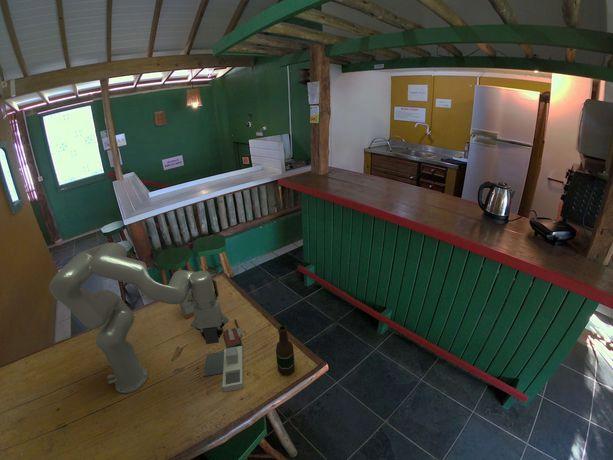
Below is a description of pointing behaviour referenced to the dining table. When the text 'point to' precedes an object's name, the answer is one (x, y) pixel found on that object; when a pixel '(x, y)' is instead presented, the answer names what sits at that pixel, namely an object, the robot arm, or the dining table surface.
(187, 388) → the dining table surface
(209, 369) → the mat
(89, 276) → the robot arm
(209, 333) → the block
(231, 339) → the walkie-talkie
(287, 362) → the beer bottle
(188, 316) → the cracker box
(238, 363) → the power strip
